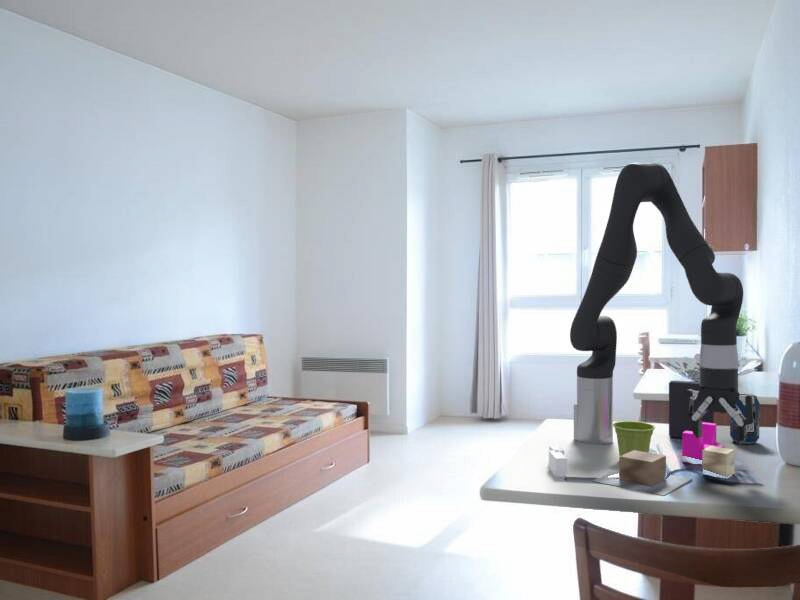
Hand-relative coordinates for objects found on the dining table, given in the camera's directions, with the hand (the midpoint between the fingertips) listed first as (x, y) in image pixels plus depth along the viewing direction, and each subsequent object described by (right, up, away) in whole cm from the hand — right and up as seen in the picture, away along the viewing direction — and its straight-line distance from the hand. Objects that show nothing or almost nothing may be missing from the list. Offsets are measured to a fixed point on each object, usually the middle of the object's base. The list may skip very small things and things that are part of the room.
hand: (719, 440), depth 151 cm
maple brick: (0, -8, +1) cm, 8 cm away
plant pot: (-14, -8, +13) cm, 21 cm away
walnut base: (-18, -8, -5) cm, 20 cm away
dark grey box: (+10, -7, +38) cm, 40 cm away
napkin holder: (-33, -9, +5) cm, 35 cm away
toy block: (+4, -8, +16) cm, 18 cm away
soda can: (+22, -7, +33) cm, 41 cm away
